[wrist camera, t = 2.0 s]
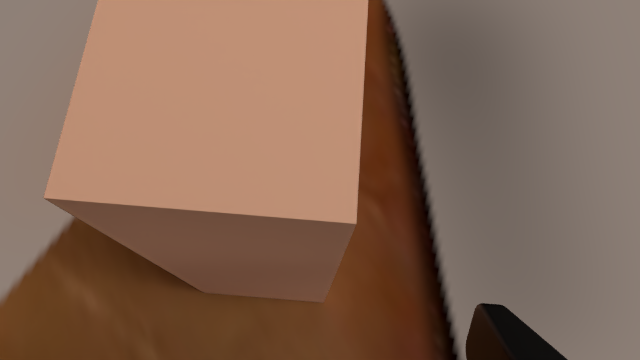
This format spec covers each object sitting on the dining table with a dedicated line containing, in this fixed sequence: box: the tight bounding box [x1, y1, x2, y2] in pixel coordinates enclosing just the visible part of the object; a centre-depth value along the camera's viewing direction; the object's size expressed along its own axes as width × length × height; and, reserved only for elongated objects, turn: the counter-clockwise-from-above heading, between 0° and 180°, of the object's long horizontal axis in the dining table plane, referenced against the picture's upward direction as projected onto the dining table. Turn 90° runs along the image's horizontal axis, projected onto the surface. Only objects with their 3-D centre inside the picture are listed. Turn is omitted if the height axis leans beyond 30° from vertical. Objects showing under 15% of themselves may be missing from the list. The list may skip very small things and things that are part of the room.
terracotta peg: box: [44, 0, 368, 303], centre depth 13 cm, size 4×4×12 cm
